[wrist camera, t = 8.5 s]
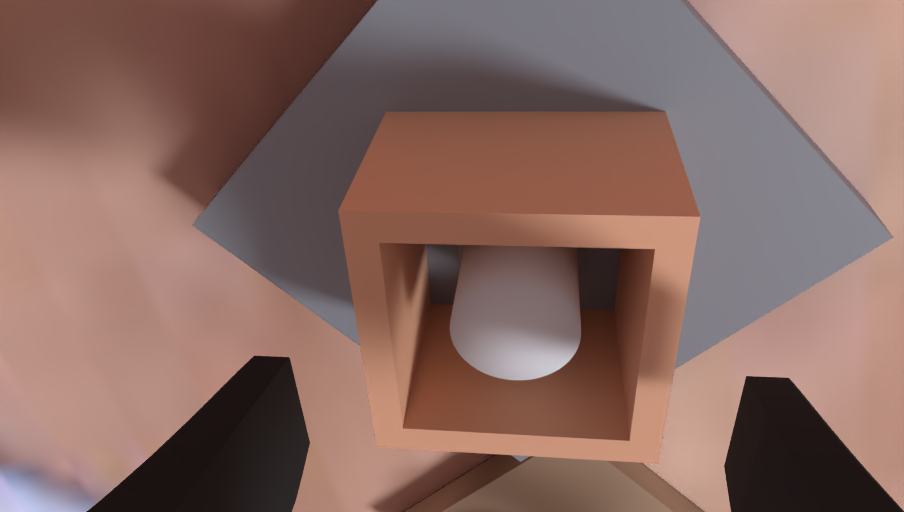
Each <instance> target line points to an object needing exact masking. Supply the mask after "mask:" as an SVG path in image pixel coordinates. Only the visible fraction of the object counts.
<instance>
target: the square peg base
mask: <svg viewBox="0 0 904 512" xmlns="http://www.w3.org/2000/svg"><path fill="white" fill-rule="evenodd" d="M659 111H666V114H667V117H668V120H669V123H670V126H671V129H672V132H673V135H674V138H675V141H676V144H677V147H678V150H679V153H680V156H681V159H682V162H683V165H684V168H685V171H686V174H687V177H688V180H689V183H690V186H691V189H692V192H693V196H694V199H695V202H696V205H697V208H698V211H699V214H700V223H699V229H698V235H697V240H696V246H695V252H694V258H693V264H692V270H691V275H690V281H689V287H688V293H687V299H686V305H685V311H684V316H683V322H682V328H681V334H680V340H679V346H678V351H677V357H676V363H675V369H676V368H677V367H679V366H681V365H682V364H684V363H686V362H687V361H689V360H691V359H692V358H694V357H696V356H697V355H699V354H701V353H702V352H704V351H706V350H707V349H709V348H711V347H712V346H714V345H716V344H717V343H719V342H720V341H722V340H724V339H725V338H727V337H729V336H730V335H732V334H734V333H735V332H737V331H739V330H740V329H742V328H744V327H745V326H747V325H749V324H750V323H752V322H754V321H755V320H757V319H759V318H760V317H762V316H764V315H765V314H767V313H769V312H770V311H772V310H774V309H775V308H777V307H779V306H780V305H782V304H784V303H785V302H787V301H789V300H790V299H792V298H794V297H795V296H797V295H799V294H800V293H802V292H804V291H805V290H807V289H809V288H810V287H812V286H814V285H815V284H817V283H819V282H820V281H822V280H823V279H825V278H827V277H828V276H830V275H832V274H833V273H835V272H837V271H838V270H840V269H842V268H843V267H845V266H847V265H848V264H850V263H852V262H853V261H855V260H857V259H858V258H860V257H862V256H863V255H865V254H867V253H868V252H870V251H872V250H873V249H875V248H877V247H878V246H880V245H882V244H883V243H885V242H887V241H888V240H890V239H892V238H893V236H892V235H891V234H890V232H889V231H888V230H887V228H886V227H885V225H884V224H883V223H882V221H881V220H880V219H879V217H878V216H877V214H876V213H875V212H874V210H873V209H872V208H871V206H870V205H869V203H868V202H867V201H866V200H865V199H864V198H863V196H862V195H861V194H860V193H859V192H858V191H857V190H856V189H855V187H854V186H853V185H852V184H851V183H850V182H849V181H848V180H847V179H846V177H845V176H844V175H843V174H842V173H841V172H840V171H839V170H838V168H837V167H836V166H835V165H834V164H833V163H832V162H831V161H830V159H829V158H828V157H827V156H826V155H825V154H824V153H823V152H822V151H821V149H820V148H819V147H818V146H817V145H816V144H815V143H814V142H813V140H812V139H811V138H810V137H809V136H808V135H807V134H806V133H805V132H804V130H803V129H802V128H801V127H800V126H799V125H798V124H797V123H796V121H795V120H794V119H793V118H792V117H791V116H790V115H789V114H788V112H787V111H786V110H785V109H784V108H783V107H782V106H781V105H780V104H779V102H778V101H777V100H776V99H775V98H774V97H773V96H772V95H771V93H770V92H769V91H768V90H767V89H766V88H765V87H764V86H763V85H762V83H761V82H760V81H759V80H758V79H757V78H756V77H755V76H754V74H753V73H752V72H751V71H750V70H749V69H748V68H747V67H746V66H745V64H744V63H743V62H742V61H741V60H740V59H739V58H738V57H737V55H736V54H735V53H734V52H733V51H732V50H731V49H730V48H729V46H728V45H727V44H726V43H725V42H724V41H723V40H722V39H721V38H720V36H719V35H718V34H717V33H716V32H715V31H714V30H713V29H712V27H711V26H710V25H709V24H708V23H707V22H706V21H705V20H704V19H703V17H702V16H701V15H700V14H699V13H698V12H697V11H696V10H695V8H694V7H693V6H692V5H691V4H690V3H689V2H688V1H687V0H376V2H375V3H374V4H373V5H372V6H371V8H370V9H369V10H368V11H367V13H366V14H365V15H364V16H363V17H362V19H361V20H360V21H359V22H358V23H357V25H356V26H355V27H354V28H353V29H352V31H351V32H350V33H349V34H348V36H347V37H346V38H345V39H344V40H343V42H342V43H341V44H340V45H339V46H338V48H337V49H336V50H335V51H334V52H333V54H332V55H331V56H330V57H329V59H328V60H327V61H326V62H325V63H324V65H323V66H322V67H321V68H320V69H319V71H318V72H317V73H316V74H315V75H314V77H313V78H312V79H311V80H310V82H309V83H308V84H307V85H306V86H305V88H304V89H303V90H302V91H301V92H300V94H299V95H298V96H297V97H296V98H295V100H294V101H293V102H292V103H291V105H290V106H289V107H288V108H287V109H286V111H285V112H284V113H283V114H282V115H281V117H280V118H279V119H278V120H277V121H276V123H275V124H274V125H273V126H272V128H271V129H270V130H269V131H268V132H267V134H266V135H265V136H264V137H263V138H262V140H261V141H260V142H259V143H258V144H257V146H256V147H255V148H254V149H253V151H252V152H251V153H250V154H249V155H248V157H247V158H246V159H245V160H244V161H243V163H242V164H241V165H240V166H239V167H238V169H237V170H236V171H235V172H234V174H233V175H232V176H231V177H230V178H229V180H228V181H227V182H226V183H225V184H224V186H223V187H222V188H221V189H220V190H219V192H218V193H217V194H216V195H215V197H214V198H213V199H212V200H211V202H210V203H209V204H208V206H207V207H206V208H205V209H204V211H203V212H202V213H201V214H200V216H199V217H198V218H197V220H196V221H195V222H194V223H193V226H194V227H196V228H197V229H199V230H200V231H201V232H203V233H204V234H206V235H207V236H208V237H210V238H211V239H212V240H214V241H215V242H217V243H218V244H219V245H221V246H222V247H224V248H225V249H226V250H228V251H229V252H230V253H232V254H233V255H235V256H236V257H237V258H239V259H240V260H242V261H243V262H244V263H246V264H247V265H248V266H250V267H251V268H253V269H254V270H255V271H257V272H258V273H260V274H261V275H262V276H264V277H265V278H266V279H268V280H269V281H271V282H272V283H273V284H275V285H276V286H278V287H279V288H280V289H282V290H283V291H284V292H286V293H287V294H289V295H290V296H291V297H293V298H294V299H296V300H297V301H298V302H300V303H301V304H303V305H304V306H305V307H307V308H308V309H309V310H311V311H312V312H314V313H315V314H316V315H318V316H319V317H321V318H322V319H323V320H325V321H326V322H327V323H329V324H330V325H332V326H333V327H334V328H336V329H337V330H339V331H340V332H341V333H343V334H344V335H345V336H347V337H348V338H350V339H351V340H352V341H354V342H355V343H357V344H358V345H359V346H360V342H359V336H358V330H357V323H356V317H355V311H354V305H353V299H352V292H351V286H350V280H349V274H348V268H347V261H346V255H345V249H344V243H343V237H342V230H341V224H340V218H339V212H338V210H339V208H340V206H341V204H342V202H343V200H344V198H345V196H346V194H347V192H348V190H349V188H350V185H351V183H352V181H353V179H354V177H355V175H356V173H357V171H358V169H359V167H360V165H361V163H362V161H363V159H364V156H365V154H366V152H367V150H368V148H369V146H370V144H371V142H372V140H373V138H374V136H375V134H376V132H377V130H378V127H379V125H380V123H381V121H382V119H383V117H384V115H385V113H386V112H659ZM620 250H621V248H585V247H540V246H495V245H451V244H426V251H427V263H428V275H429V287H430V299H431V304H446V305H453V310H452V315H451V320H450V335H451V339H452V342H453V344H454V346H455V348H456V350H457V351H458V353H459V354H460V356H461V357H462V358H463V359H464V360H465V361H466V362H467V363H469V364H470V365H471V366H473V367H474V368H476V369H477V370H479V371H481V372H483V373H485V374H488V375H490V376H493V377H497V378H501V379H506V380H531V379H536V378H540V377H543V376H547V375H549V374H551V373H553V372H555V371H557V370H559V369H560V368H562V367H563V366H564V365H565V364H567V363H568V362H569V361H570V360H571V358H572V357H573V356H574V354H575V353H576V351H577V349H578V346H579V343H580V339H581V319H580V309H598V310H615V300H616V290H617V280H618V270H619V260H620ZM512 456H513V457H515V458H516V459H517V460H519V461H520V462H521V461H523V460H524V459H526V458H528V457H529V456H519V455H512Z"/></svg>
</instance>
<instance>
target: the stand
mask: <svg viewBox="0 0 904 512" xmlns="http://www.w3.org/2000/svg"><path fill="white" fill-rule="evenodd" d="M405 512H704V511H702V510H701V509H700V508H699V507H697V506H696V505H695V504H693V503H692V502H691V501H690V500H688V499H687V498H686V497H684V496H683V495H682V494H681V493H679V492H678V491H677V490H675V489H674V488H673V487H672V486H670V485H669V484H668V483H666V482H665V481H664V480H663V479H661V478H660V477H659V476H657V475H656V474H655V473H654V472H652V471H651V470H650V469H648V468H647V467H646V466H645V465H643V464H642V463H638V462H621V461H604V460H587V459H570V458H553V457H536V456H529V457H528V458H526V459H524V460H523V461H521V462H520V461H519V460H517V459H516V458H515V457H513V456H512V455H502V454H496V455H494V456H493V457H491V458H490V459H488V460H486V461H485V462H483V463H482V464H480V465H478V466H477V467H475V468H474V469H472V470H470V471H469V472H467V473H466V474H464V475H462V476H461V477H459V478H458V479H456V480H454V481H453V482H451V483H450V484H448V485H446V486H445V487H443V488H442V489H440V490H438V491H437V492H435V493H434V494H432V495H430V496H429V497H427V498H426V499H424V500H422V501H421V502H419V503H418V504H416V505H414V506H413V507H411V508H410V509H408V510H406V511H405Z"/></svg>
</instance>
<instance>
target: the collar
mask: <svg viewBox="0 0 904 512" xmlns="http://www.w3.org/2000/svg"><path fill="white" fill-rule="evenodd" d="M338 212H339V218H340V224H341V230H342V237H343V243H344V249H345V255H346V261H347V268H348V274H349V280H350V286H351V292H352V299H353V305H354V311H355V317H356V323H357V330H358V336H359V342H360V348H361V354H362V361H363V367H364V373H365V379H366V385H367V392H368V398H369V404H370V410H371V416H372V423H373V429H374V435H375V441H376V447H382V448H399V449H416V450H433V451H450V452H467V453H484V454H502V455H519V456H536V457H553V458H570V459H587V460H604V461H621V462H638V463H655V464H658V463H659V457H660V451H661V445H662V439H663V433H664V427H665V422H666V416H667V410H668V404H669V398H670V392H671V387H672V381H673V375H674V369H675V363H676V357H677V351H678V346H679V340H680V334H681V328H682V322H683V316H684V311H685V305H686V299H687V293H688V287H689V281H690V275H691V270H692V264H693V258H694V252H695V246H696V240H697V235H698V229H699V223H700V214H699V211H698V208H697V205H696V202H695V199H694V196H693V192H692V189H691V186H690V183H689V180H688V177H687V174H686V171H685V168H684V165H683V162H682V159H681V156H680V153H679V150H678V147H677V144H676V141H675V138H674V135H673V132H672V129H671V126H670V123H669V120H668V117H667V114H666V111H659V112H386V113H385V115H384V117H383V119H382V121H381V123H380V125H379V127H378V130H377V132H376V134H375V136H374V138H373V140H372V142H371V144H370V146H369V148H368V150H367V152H366V154H365V156H364V159H363V161H362V163H361V165H360V167H359V169H358V171H357V173H356V175H355V177H354V179H353V181H352V183H351V185H350V188H349V190H348V192H347V194H346V196H345V198H344V200H343V202H342V204H341V206H340V208H339V210H338ZM426 244H451V245H495V246H540V247H585V248H621V250H620V260H619V270H618V280H617V290H616V300H615V310H598V309H580V319H581V339H580V343H579V346H578V349H577V351H576V353H575V354H574V356H573V357H572V358H571V360H570V361H569V362H568V363H567V364H565V365H564V366H563V367H562V368H560V369H559V370H557V371H555V372H553V373H551V374H549V375H547V376H543V377H540V378H536V379H531V380H506V379H501V378H497V377H493V376H490V375H488V374H485V373H483V372H481V371H479V370H477V369H476V368H474V367H473V366H471V365H470V364H469V363H467V362H466V361H465V360H464V359H463V358H462V357H461V356H460V354H459V353H458V351H457V350H456V348H455V346H454V344H453V342H452V339H451V335H450V320H451V315H452V310H453V305H446V304H431V299H430V287H429V275H428V263H427V251H426Z"/></svg>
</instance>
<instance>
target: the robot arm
mask: <svg viewBox="0 0 904 512" xmlns="http://www.w3.org/2000/svg"><path fill="white" fill-rule="evenodd" d="M309 444H310V441H309V437H308V433H307V429H306V425H305V420H304V416H303V412H302V408H301V404H300V400H299V395H298V391H297V387H296V383H295V379H294V374H293V370H292V366H291V362H290V358H289V357H269V356H254V357H253V358H251V359H250V360H249V361H248V362H247V363H246V364H245V365H244V366H243V367H242V368H241V369H240V370H239V371H238V372H237V373H236V374H235V375H234V376H233V377H232V378H231V379H230V380H229V381H228V382H227V383H226V384H225V385H224V386H223V387H222V388H221V389H220V390H219V391H218V392H217V393H216V394H215V395H214V396H213V397H212V398H211V399H210V400H209V401H208V402H207V403H206V404H205V405H204V406H203V407H202V408H201V409H200V410H199V411H198V412H197V413H196V414H195V415H194V416H193V417H192V418H191V419H189V420H188V421H187V422H186V423H185V424H184V425H183V426H182V427H181V428H180V429H179V430H178V431H177V432H176V433H175V434H174V435H173V436H172V437H171V438H170V439H169V440H167V441H166V442H165V443H164V444H163V445H162V446H161V447H160V448H159V449H158V450H157V451H156V452H155V453H154V454H153V455H152V456H151V457H149V458H148V459H147V460H146V461H145V462H144V463H143V464H142V465H140V466H139V467H138V468H137V469H136V470H135V471H134V472H133V473H131V474H130V475H129V476H128V477H127V478H126V479H125V480H123V481H122V482H121V483H120V484H119V485H118V486H117V487H115V488H114V489H113V490H112V491H111V492H110V493H109V494H108V495H106V496H105V497H104V498H103V499H102V500H100V501H99V502H98V503H97V504H96V505H94V506H93V507H92V508H91V509H90V510H88V511H87V512H292V509H293V506H294V504H295V501H296V497H297V493H298V489H299V486H300V482H301V478H302V474H303V470H304V465H305V461H306V457H307V453H308V448H309ZM724 467H725V474H726V481H727V487H728V494H729V501H730V507H731V512H904V511H903V510H902V509H901V508H900V507H899V505H898V504H897V503H896V502H895V501H894V500H893V499H892V498H891V497H890V496H889V494H888V493H887V492H886V491H885V490H884V489H883V488H882V487H881V486H880V484H879V483H878V482H877V481H876V480H875V479H874V478H873V477H872V476H871V474H870V473H869V472H868V471H867V470H866V469H865V468H864V467H863V465H862V464H861V463H860V462H859V461H858V460H857V459H856V457H855V456H854V455H853V454H852V453H851V452H850V450H849V449H848V448H847V447H846V446H845V444H844V443H843V442H842V441H841V440H840V439H839V437H838V436H837V435H836V434H835V433H834V431H833V430H832V429H831V428H830V427H829V425H828V424H827V423H826V422H825V421H824V419H823V418H822V417H821V416H820V415H819V413H818V412H817V411H816V410H815V408H814V407H813V406H812V405H811V404H810V402H809V401H808V400H807V399H806V397H805V396H804V395H803V394H802V393H801V391H800V390H799V389H798V388H797V387H796V385H795V384H794V383H793V382H792V381H791V380H790V379H789V378H776V377H752V376H746V380H745V384H744V388H743V392H742V396H741V400H740V404H739V408H738V413H737V417H736V421H735V425H734V429H733V433H732V437H731V441H730V445H729V449H728V453H727V457H726V462H725V466H724Z"/></svg>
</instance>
